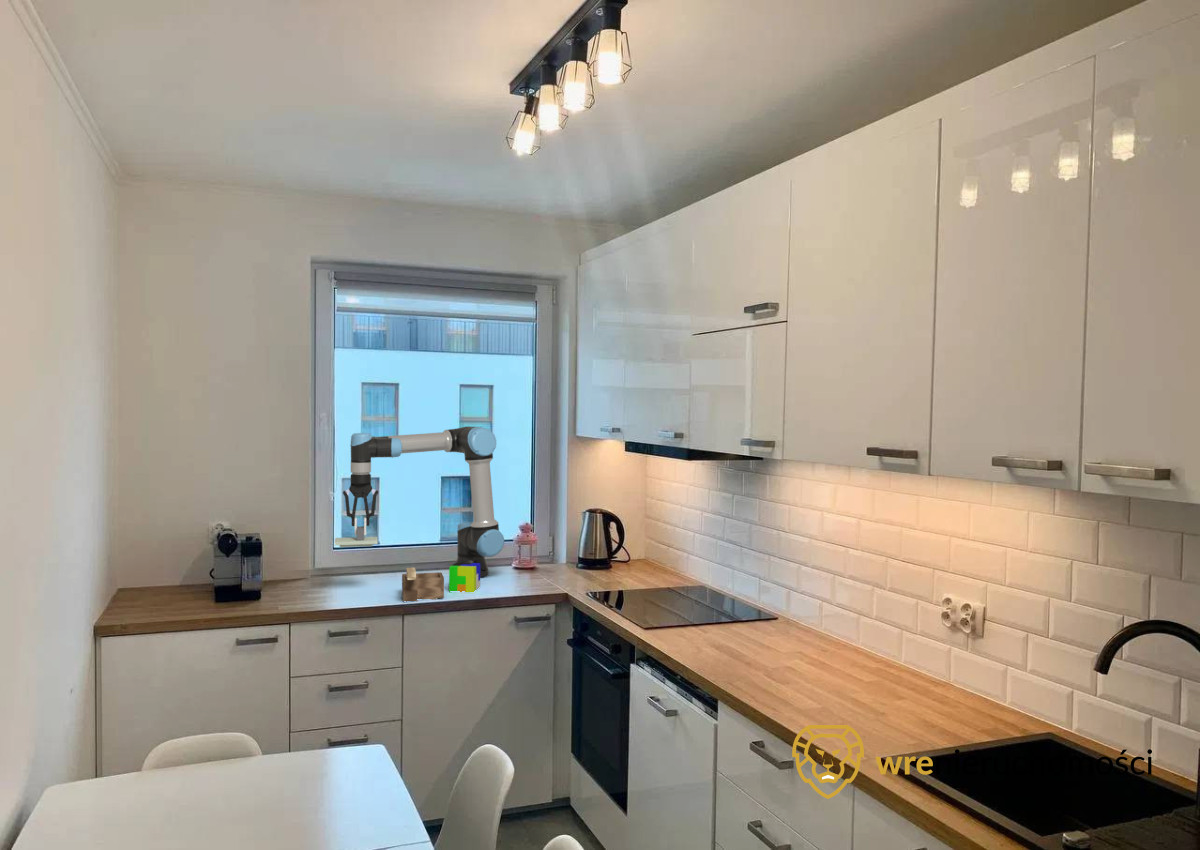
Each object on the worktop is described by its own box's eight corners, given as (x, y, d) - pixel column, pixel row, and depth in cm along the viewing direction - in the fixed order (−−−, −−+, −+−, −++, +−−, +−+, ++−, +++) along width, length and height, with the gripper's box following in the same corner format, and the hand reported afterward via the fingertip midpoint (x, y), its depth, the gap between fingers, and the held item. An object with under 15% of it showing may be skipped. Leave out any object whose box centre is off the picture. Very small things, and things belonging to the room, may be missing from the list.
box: (441, 592, 335) (441, 569, 335) (444, 600, 322) (444, 575, 322) (402, 594, 331) (402, 570, 331) (403, 602, 318) (403, 577, 318)
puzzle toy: (480, 588, 345) (480, 563, 345) (474, 593, 335) (474, 567, 335) (455, 587, 346) (456, 562, 346) (449, 592, 336) (449, 567, 336)
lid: (377, 542, 335) (377, 525, 335) (377, 546, 325) (377, 529, 325) (335, 543, 331) (335, 526, 331) (334, 547, 321) (334, 530, 321)
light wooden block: (414, 575, 320) (414, 567, 320) (415, 579, 313) (415, 571, 312) (406, 575, 319) (406, 567, 319) (407, 580, 312) (407, 571, 312)
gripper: (381, 472, 334) (381, 532, 334) (339, 472, 329) (339, 533, 330) (382, 474, 326) (382, 535, 327) (338, 474, 322) (338, 536, 323)
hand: (360, 534), depth 328 cm, fingers closed on lid, 3 cm apart
